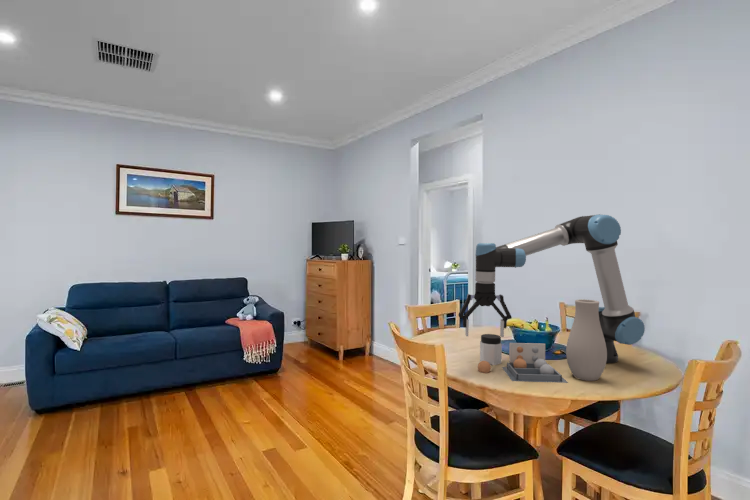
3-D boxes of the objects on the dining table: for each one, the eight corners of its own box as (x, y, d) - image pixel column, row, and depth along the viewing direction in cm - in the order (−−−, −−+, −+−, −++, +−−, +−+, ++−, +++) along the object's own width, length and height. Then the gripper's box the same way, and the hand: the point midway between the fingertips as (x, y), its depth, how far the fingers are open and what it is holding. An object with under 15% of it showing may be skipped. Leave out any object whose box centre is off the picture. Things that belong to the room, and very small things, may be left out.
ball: (489, 371, 166) (489, 359, 166) (492, 375, 161) (492, 363, 161) (476, 371, 166) (476, 359, 166) (479, 375, 161) (479, 362, 161)
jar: (491, 368, 170) (491, 339, 170) (476, 363, 177) (476, 335, 177) (505, 364, 175) (505, 336, 175) (490, 360, 182) (490, 333, 182)
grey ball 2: (551, 375, 158) (551, 362, 158) (556, 380, 153) (556, 366, 153) (537, 375, 159) (538, 362, 159) (542, 379, 154) (542, 366, 154)
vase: (575, 385, 150) (576, 303, 150) (560, 373, 164) (561, 298, 164) (613, 386, 150) (615, 303, 149) (595, 374, 164) (596, 298, 163)
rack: (552, 370, 168) (552, 343, 167) (568, 385, 151) (568, 355, 150) (501, 369, 169) (501, 342, 169) (512, 383, 152) (512, 353, 152)
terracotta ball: (524, 369, 166) (524, 356, 166) (528, 373, 161) (528, 360, 161) (511, 369, 166) (512, 356, 166) (515, 373, 161) (515, 360, 161)
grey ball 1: (545, 369, 165) (545, 357, 165) (549, 374, 160) (549, 361, 160) (532, 369, 166) (532, 357, 166) (536, 373, 161) (536, 360, 161)
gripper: (515, 281, 166) (514, 334, 166) (452, 280, 168) (451, 333, 168) (520, 283, 158) (519, 339, 159) (454, 282, 160) (453, 337, 161)
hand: (484, 336), depth 164 cm, fingers open, 13 cm apart
